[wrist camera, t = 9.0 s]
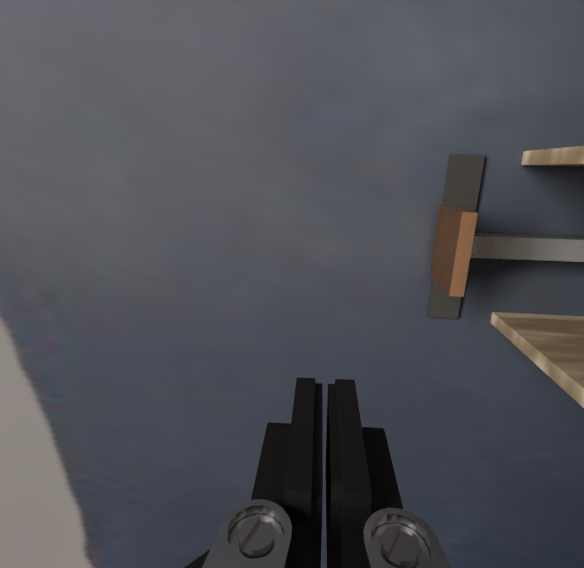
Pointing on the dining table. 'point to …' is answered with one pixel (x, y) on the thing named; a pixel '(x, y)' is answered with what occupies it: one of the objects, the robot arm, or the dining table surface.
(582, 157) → the tunnel
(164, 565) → the dining table surface
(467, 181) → the strip
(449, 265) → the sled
